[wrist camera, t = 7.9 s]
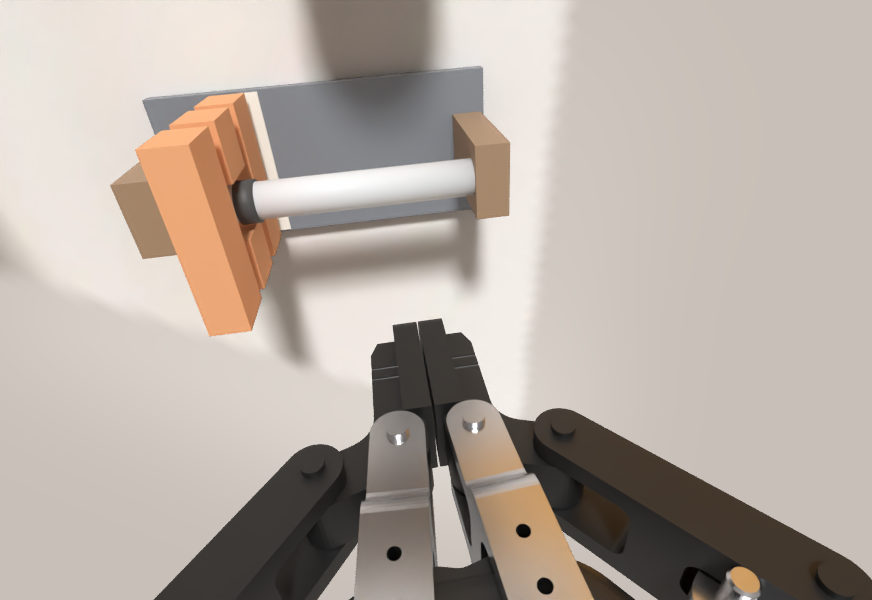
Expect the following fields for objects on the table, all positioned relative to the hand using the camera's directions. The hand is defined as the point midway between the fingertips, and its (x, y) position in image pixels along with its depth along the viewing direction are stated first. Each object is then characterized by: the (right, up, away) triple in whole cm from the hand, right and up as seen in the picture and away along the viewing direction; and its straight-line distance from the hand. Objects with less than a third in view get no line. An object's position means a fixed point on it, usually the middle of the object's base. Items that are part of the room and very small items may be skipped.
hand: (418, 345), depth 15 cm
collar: (-11, +9, +16) cm, 21 cm away
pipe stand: (-6, +11, +17) cm, 21 cm away
